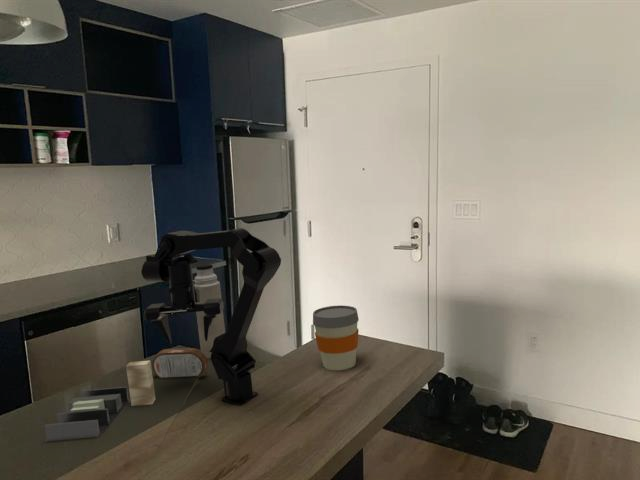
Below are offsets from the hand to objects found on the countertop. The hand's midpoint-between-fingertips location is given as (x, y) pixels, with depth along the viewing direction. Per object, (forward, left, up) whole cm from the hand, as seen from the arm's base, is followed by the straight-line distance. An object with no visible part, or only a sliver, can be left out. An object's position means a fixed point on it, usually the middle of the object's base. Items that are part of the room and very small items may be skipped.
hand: (188, 342), depth 126 cm
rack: (+9, +23, -13) cm, 28 cm away
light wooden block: (+5, +12, -13) cm, 18 cm away
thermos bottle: (+16, -22, -13) cm, 30 cm away
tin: (+10, -4, -13) cm, 17 cm away
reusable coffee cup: (-25, -30, -13) cm, 41 cm away
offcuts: (+9, +23, -12) cm, 28 cm away
